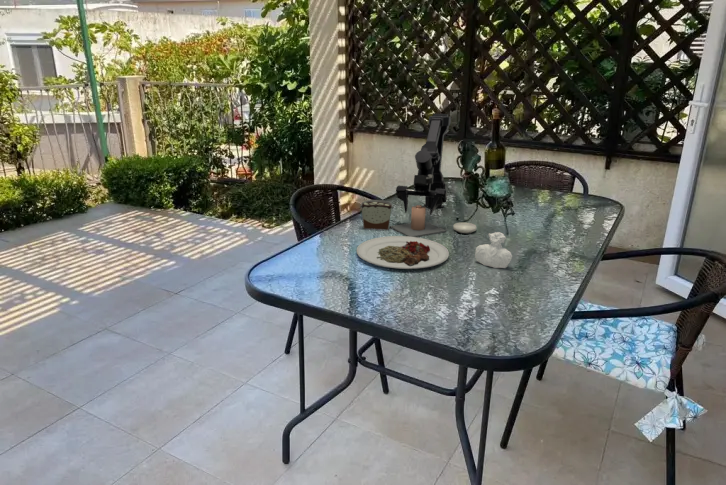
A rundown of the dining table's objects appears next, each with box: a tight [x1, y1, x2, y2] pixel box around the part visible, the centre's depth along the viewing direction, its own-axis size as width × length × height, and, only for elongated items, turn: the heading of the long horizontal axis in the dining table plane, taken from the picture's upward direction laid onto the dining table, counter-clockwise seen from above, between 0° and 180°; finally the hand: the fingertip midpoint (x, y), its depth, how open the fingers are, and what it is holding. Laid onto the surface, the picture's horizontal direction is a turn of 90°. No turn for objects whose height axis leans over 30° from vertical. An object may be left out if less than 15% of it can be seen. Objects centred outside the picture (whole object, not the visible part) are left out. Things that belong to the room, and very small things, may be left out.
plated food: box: [356, 235, 450, 270], centre depth 173 cm, size 30×30×3 cm
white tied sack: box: [474, 231, 513, 269], centre depth 166 cm, size 12×8×11 cm
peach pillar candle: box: [410, 204, 427, 230], centre depth 197 cm, size 5×5×9 cm
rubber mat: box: [389, 220, 447, 238], centre depth 199 cm, size 16×14×1 cm
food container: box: [359, 199, 394, 231], centre depth 200 cm, size 12×6×10 cm, turn 84°
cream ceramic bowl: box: [452, 221, 477, 234], centre depth 198 cm, size 8×8×2 cm
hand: (417, 213), depth 196 cm, fingers open, 9 cm apart
